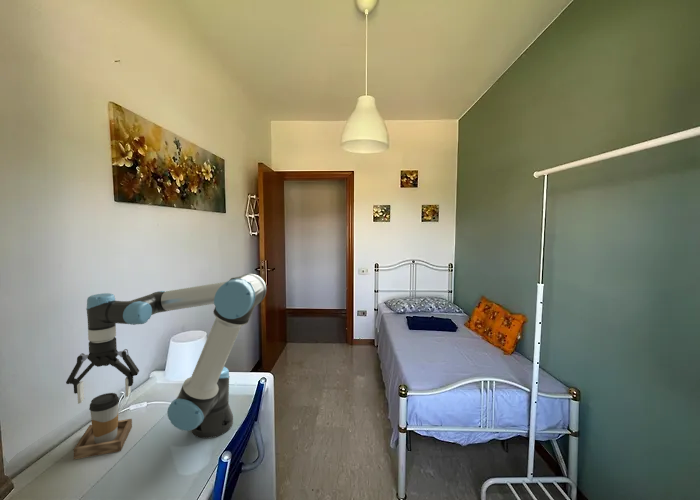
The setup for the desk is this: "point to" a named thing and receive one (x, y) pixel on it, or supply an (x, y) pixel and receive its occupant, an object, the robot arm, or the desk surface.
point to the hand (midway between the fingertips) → (105, 398)
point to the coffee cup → (104, 417)
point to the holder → (90, 448)
